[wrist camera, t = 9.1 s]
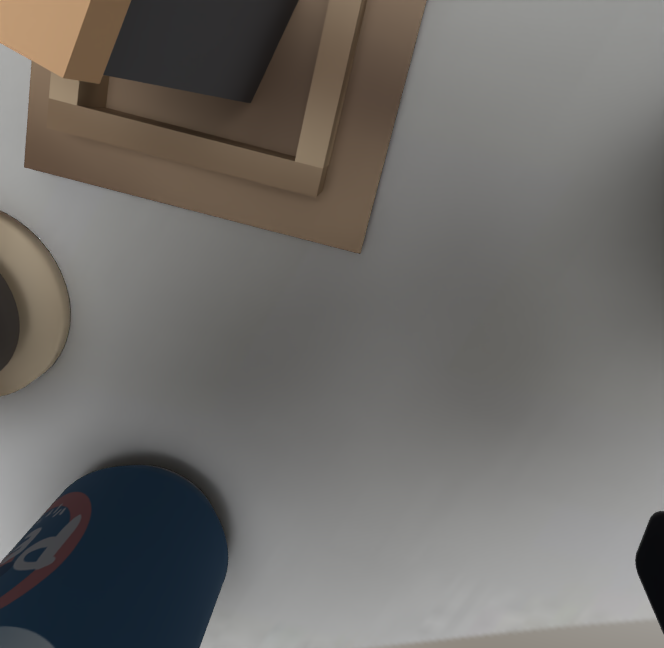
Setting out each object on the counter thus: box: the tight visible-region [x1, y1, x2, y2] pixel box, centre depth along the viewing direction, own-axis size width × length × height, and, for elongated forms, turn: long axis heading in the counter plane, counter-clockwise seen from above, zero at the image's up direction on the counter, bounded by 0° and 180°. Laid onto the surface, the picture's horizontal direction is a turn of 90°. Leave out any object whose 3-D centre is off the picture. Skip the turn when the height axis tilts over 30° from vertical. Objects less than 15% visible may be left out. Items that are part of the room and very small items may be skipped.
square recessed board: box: [24, 0, 427, 254], centre depth 17 cm, size 11×11×3 cm
